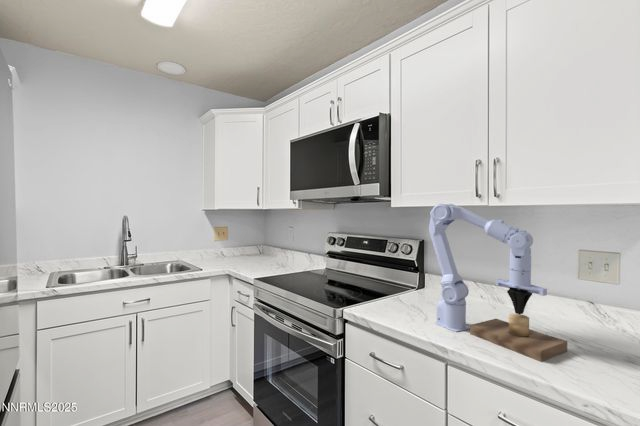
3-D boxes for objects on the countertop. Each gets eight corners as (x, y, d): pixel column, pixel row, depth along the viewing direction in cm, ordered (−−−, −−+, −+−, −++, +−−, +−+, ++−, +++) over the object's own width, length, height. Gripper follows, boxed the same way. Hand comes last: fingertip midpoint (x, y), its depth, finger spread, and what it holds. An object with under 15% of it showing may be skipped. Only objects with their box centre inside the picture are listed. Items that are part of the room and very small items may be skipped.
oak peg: (504, 340, 101) (505, 315, 101) (515, 337, 104) (515, 312, 104) (522, 347, 96) (522, 320, 96) (532, 343, 99) (533, 317, 99)
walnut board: (470, 333, 107) (470, 324, 107) (496, 326, 114) (496, 318, 114) (540, 361, 88) (541, 350, 88) (567, 351, 95) (567, 341, 95)
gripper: (490, 267, 104) (489, 308, 105) (537, 275, 92) (536, 322, 92) (503, 265, 108) (502, 305, 108) (551, 273, 95) (550, 318, 95)
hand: (519, 313), depth 100 cm, fingers closed
